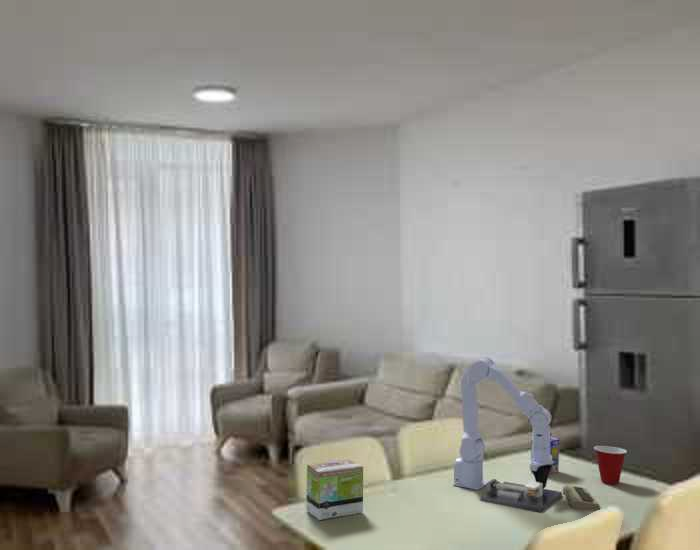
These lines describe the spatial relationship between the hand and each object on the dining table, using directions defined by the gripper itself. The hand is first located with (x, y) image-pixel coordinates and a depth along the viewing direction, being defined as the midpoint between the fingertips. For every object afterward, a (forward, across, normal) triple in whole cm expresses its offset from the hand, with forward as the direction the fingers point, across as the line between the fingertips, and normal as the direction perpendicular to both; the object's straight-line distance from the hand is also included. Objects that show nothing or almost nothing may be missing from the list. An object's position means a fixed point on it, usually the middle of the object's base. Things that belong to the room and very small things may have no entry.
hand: (541, 487), depth 234 cm
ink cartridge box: (+3, +25, +8) cm, 27 cm away
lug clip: (+1, -7, 0) cm, 7 cm away
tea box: (+3, -52, +46) cm, 69 cm away
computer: (+3, +1, -12) cm, 13 cm away
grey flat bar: (0, -9, +6) cm, 10 cm away
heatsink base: (+2, -7, +4) cm, 8 cm away
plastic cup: (+3, +26, -15) cm, 30 cm away
